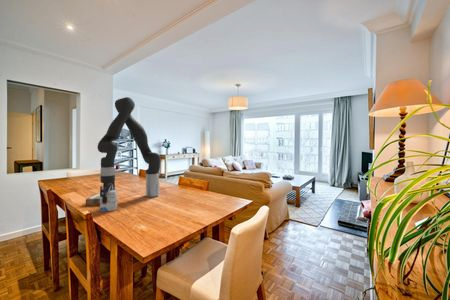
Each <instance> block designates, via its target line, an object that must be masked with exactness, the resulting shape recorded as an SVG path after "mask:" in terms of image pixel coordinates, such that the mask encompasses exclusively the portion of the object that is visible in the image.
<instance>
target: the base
mask: <svg viewBox="0 0 450 300" xmlns="http://www.w3.org/2000/svg"><path fill="white" fill-rule="evenodd" d="M85 206H100V193H93V195H91V196H90V197H87V198H86V199H85Z"/></svg>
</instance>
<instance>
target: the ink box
mask: <svg viewBox="0 0 450 300" xmlns="http://www.w3.org/2000/svg"><path fill="white" fill-rule="evenodd" d="M117 209H118V190H117V189H115V190H110V191H109V193H108V194H107V203H102V197H100V205H99V212H100V213H102V212H113V211H116V210H117Z"/></svg>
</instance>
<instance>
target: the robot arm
mask: <svg viewBox="0 0 450 300" xmlns="http://www.w3.org/2000/svg"><path fill="white" fill-rule="evenodd" d="M114 107H115V110H116V111H117V112H118V114H117V115H116V117H115V118H114V119H113V120H112V121H111V123H110V125H109V126H108V129H107V131H106V132H105V134H104V135H103V136H102V138H101V139H100V140H99V141H98V143H97V151H98V152H99V153H101V154H105V155H106V156H104V157H101V158H100V174H99V175H100V183H101V184H102V185H101V186H100V187H99V194H100V197H102V203H107V194H108V193H109V191H110V190H116V183H115V181H116V170H115V169H116V168H115V159H116V156H117V153H118V145H117V143H116V142H115V141H117V140H118V139H119V137H120V135H121V133H122V130H123V128H124V126H125V125H126V127H127V129H128V131H129V133H130V135H131V136H132V139H133V140H134V142H135V144H136V145H137V147H138V150H139V151H140V154H141V157H142V159H143V161H144V162H145V163H146V164H147V165H148V168H147V169H146V170H145V196H146V197H147V198H155V197H159V195H160V181H159V180H160V178H159V177H160V174H159V173H160V172H159V171H160V169H161V157H160V154H159V153H157V152H153V151H152V150H151V148H150V146H149V140H148V134H147V132H146V130H145V128H144V127H143V126H142V124H140V123H139V122H138V121H137V120H136V119H135V118H134V117H133V116H132V112H133V111H134V109H135V100H133V99H132V97H129V96H127V97H123V98H118V99H117V100H115V101H114Z"/></svg>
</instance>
